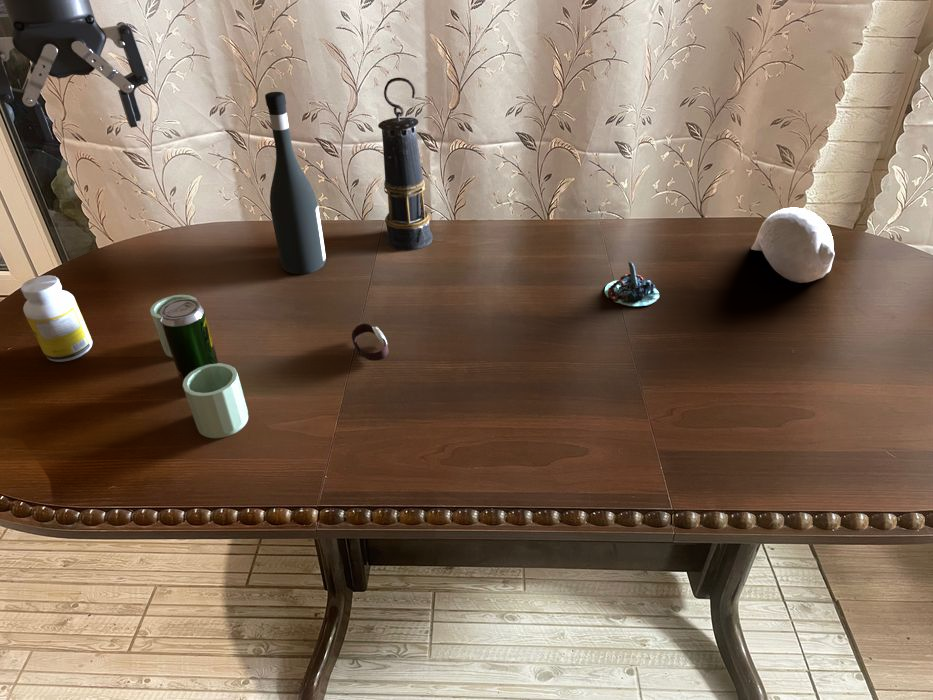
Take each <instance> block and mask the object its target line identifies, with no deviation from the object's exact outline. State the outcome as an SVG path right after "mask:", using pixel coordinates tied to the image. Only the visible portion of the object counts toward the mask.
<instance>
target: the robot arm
mask: <svg viewBox="0 0 933 700" xmlns="http://www.w3.org/2000/svg"><path fill="white" fill-rule="evenodd" d="M2 3H3V6H4V8H5V11H6V14H7V16H8V19H9V21H10V24H11V26H12V36H4V37H3V36H2V37H1V36H0V100H1V102H3V103H5V104H16V105H21V106H23V107H24V108H25V110H26V112H27V115H28V117H29V120H30V122H31V125H32V127H33V130H34V132H35V134H36V135H37V136H38V137H39V138H43V137H44V138H45V141H46V142H54V141H55V139H54V137H53V133H52V132H51V131H52V130H51V129H50V126H49V122H48V121H47V118H46V116H45V113H44V111H43V108H42V105H41V103H40V101H38V99H39V98H40V94H41V92H42V89H43V88H44V87H45V84H46V81H47V79H48V77H49V76H50V77H53V78H56V79H58V80H59V79H64V78H68V77H70V76H73V75H74V76H89V75H90V74H91V73H93V72H95V70H96V71H97V72H99V73H100V74H101V75H102V76H104V77H105V78H106V79H107V80H108V81H110V82H111V83H113V84H114V85H115V86H116V87H118V88H119V89H118V90H117V91H118V95H119V98H120V102H121V104H122V108H123V110H124V115H125V118H126V121H127V123H128V125H129V127H130V129H131V128H138V123H137V122H141V119H142V114H141V111H140V108H139V104H138V101H137V98H136V94H135V93H136V92H135V91H136V89H137V88H138V87H140V86H142V85H146V84H148V83H149V76H148V73H147V70H146V67H145V64H144V61H143V59H142V56H141V52H140V50H139V46H138V43H137V40H136V38H135V35H134V32H133V30H132V28H131V27H130V26H129V25H128V24H127V23H126V22H123V21H120V22H118V23H116V25H113V26H105V27H101V26H100V25H99V23H98V22H97V19H96V17H95V14H94V11H93V8H92V4H91V2H90V0H2ZM107 39H108V40H111V41H112V42H113V44H114V45H115V46H116V47H117V48H119V49H123V52H124V54H125V57H126V60H127V62H128V66H129V68H130V71H131V72H130V73H128V74H126V75H123V74H122V73H121V72H120V71H119V70H117V69H116V68H115V67H114V66H113V65H112V64H111V63H109V62H108V61H107V60H105V58H104V57H102V52H103V51H104V50H103V49H104V48H105V45H106V42H107ZM12 50H16V51H17V52H19V53H20V54H21V55H22V56H23V57H25V58H26V59H27V60H28V61H30V62H31V65H30V67H29V69H28V72H27V75H26V79H25V80H24V81H25V82H24V84H23V87H22V89H21V88H16V87H14V88H13V87H12V86H11V83H10V80H9V77H8V73H7V70H6V67H5V64H4V62H8V61H9V60H10V58H11V55H10V53H11V51H12Z"/></svg>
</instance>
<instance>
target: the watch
mask: <svg viewBox="0 0 933 700" xmlns="http://www.w3.org/2000/svg"><path fill="white" fill-rule="evenodd" d="M364 333H371V334H373V335H375V337H376V339H378V341H379V342H380V344H381V345H382V346H384V347H383V348H382V349H381V350H379V351H376V352H368V351H365V350H363V349H361V348H360V346H359V345H358V342H357V340H358V338H359V337H360V336H361V335H362V334H364ZM351 340H352V344H353V346H354V348H355V351H356V353H358V354H359V355H361V356H362V357H363V358H365V359H366V360H369V361H373V362H374V361H381V360H383V359H385V358H386V357H387V356H388V354H389V352H390V351H389V347H388V345H389V344H388V340H387V339H386V336H385V335H384V333H383V332H382V330H381V329H380V328H379V327H378V326H377V325H376V326H372V325H371V324H369V323H361V324H359V325H357V326H356V327H354V329H353V330H352V332H351Z"/></svg>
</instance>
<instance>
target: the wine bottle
mask: <svg viewBox="0 0 933 700" xmlns="http://www.w3.org/2000/svg"><path fill="white" fill-rule="evenodd" d="M264 98H265V104H266V107H267V109H268V114H269V119H270V124H271V125H270V126H271V131H272V136H273V142H274V147H275V166H274V172H273V177H272V180H271V185H270V192H269V209H270V210H269V211H270V216H271V221H272V225H273V230H274V235H275V241H276V246H277V251H278V257H279V261H280V266H281V268H283V269H284V271H285V272H288V273H290V274H294V275H309V274H312V273H314V272H317V271H319V270H320V269H321V268H323V267H324V266H325V264H326V261H327V256H326V250H325V249H326V248H325V242H324V235H323V229H322V222H321V216H320V210H319V204H318V200H317V197H316V194H315V191H314V189H313V187H312V184H311V183H310V181H309V179H308V178H307V175H306V174H305V173H304V171H303V169H302V168H301V166H300V164H299V162H298V159H297V157H296V155H295V151H294V148H293V144H292V143H293V142H292V138H291V137H292V136H291V131H290V126H289V119H288V112H287V100H286V93H285V92H283V91H271V92H270V91H269V92H267V93H265V95H264Z"/></svg>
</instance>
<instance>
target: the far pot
mask: <svg viewBox="0 0 933 700" xmlns="http://www.w3.org/2000/svg"><path fill="white" fill-rule="evenodd" d="M178 299H194V300H196V301H198V300H197V298H196V297H194V296H192V295H188V294H173V295H170V296H166V297H163V298H161V299H159V300H157V301H156V302H154V303H153V304H152V305H151V307H150V310H149V313H150V316H151V319H152V322H153V324H154V328H155V330H156V333H157V336H158V339H159V341H160V345H161V348H162V350H163V353H164V354H165V355H166V356H167V357H169V358H173V356H172V353H171V351H170V348H169V345H168V342H167V339H166V336H165V333H164V330H163V327H162V324H161V321H160V318H161V315H160V310H161V308H162V307H163V306H164V305H166V304H167V303H169V302H172V301H175V300H178Z"/></svg>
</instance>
